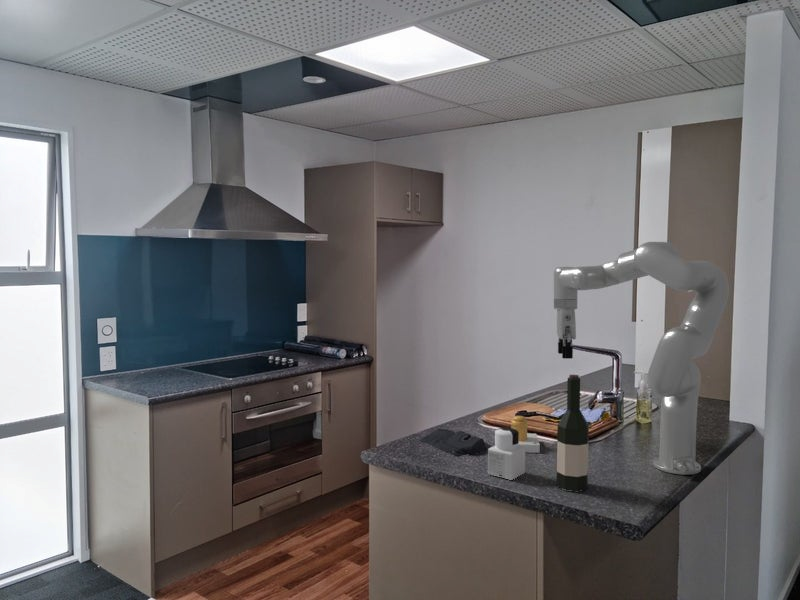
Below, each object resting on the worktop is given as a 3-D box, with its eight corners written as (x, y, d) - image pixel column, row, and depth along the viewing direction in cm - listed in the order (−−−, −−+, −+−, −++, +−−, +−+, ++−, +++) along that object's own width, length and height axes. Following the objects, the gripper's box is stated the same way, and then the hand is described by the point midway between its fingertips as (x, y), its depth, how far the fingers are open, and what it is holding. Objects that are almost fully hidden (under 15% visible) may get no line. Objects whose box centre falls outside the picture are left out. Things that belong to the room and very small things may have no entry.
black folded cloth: (450, 434, 216) (450, 420, 215) (495, 450, 198) (495, 436, 197) (415, 442, 207) (415, 428, 206) (459, 460, 189) (459, 445, 188)
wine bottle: (582, 480, 171) (584, 372, 168) (592, 492, 162) (595, 378, 160) (552, 480, 170) (553, 372, 168) (561, 492, 162) (562, 378, 160)
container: (501, 467, 181) (501, 423, 180) (525, 473, 176) (525, 428, 175) (487, 475, 175) (487, 430, 174) (511, 481, 170) (512, 435, 169)
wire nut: (527, 441, 197) (527, 419, 197) (511, 440, 198) (511, 419, 198) (526, 436, 202) (526, 415, 202) (510, 436, 203) (510, 414, 202)
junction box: (539, 452, 194) (539, 434, 193) (500, 451, 195) (500, 432, 195) (534, 435, 212) (534, 418, 212) (498, 434, 214) (498, 417, 213)
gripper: (581, 306, 196) (581, 360, 198) (572, 302, 213) (572, 351, 215) (557, 306, 197) (557, 360, 198) (550, 302, 214) (550, 351, 216)
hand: (565, 355), depth 207 cm, fingers open, 9 cm apart
